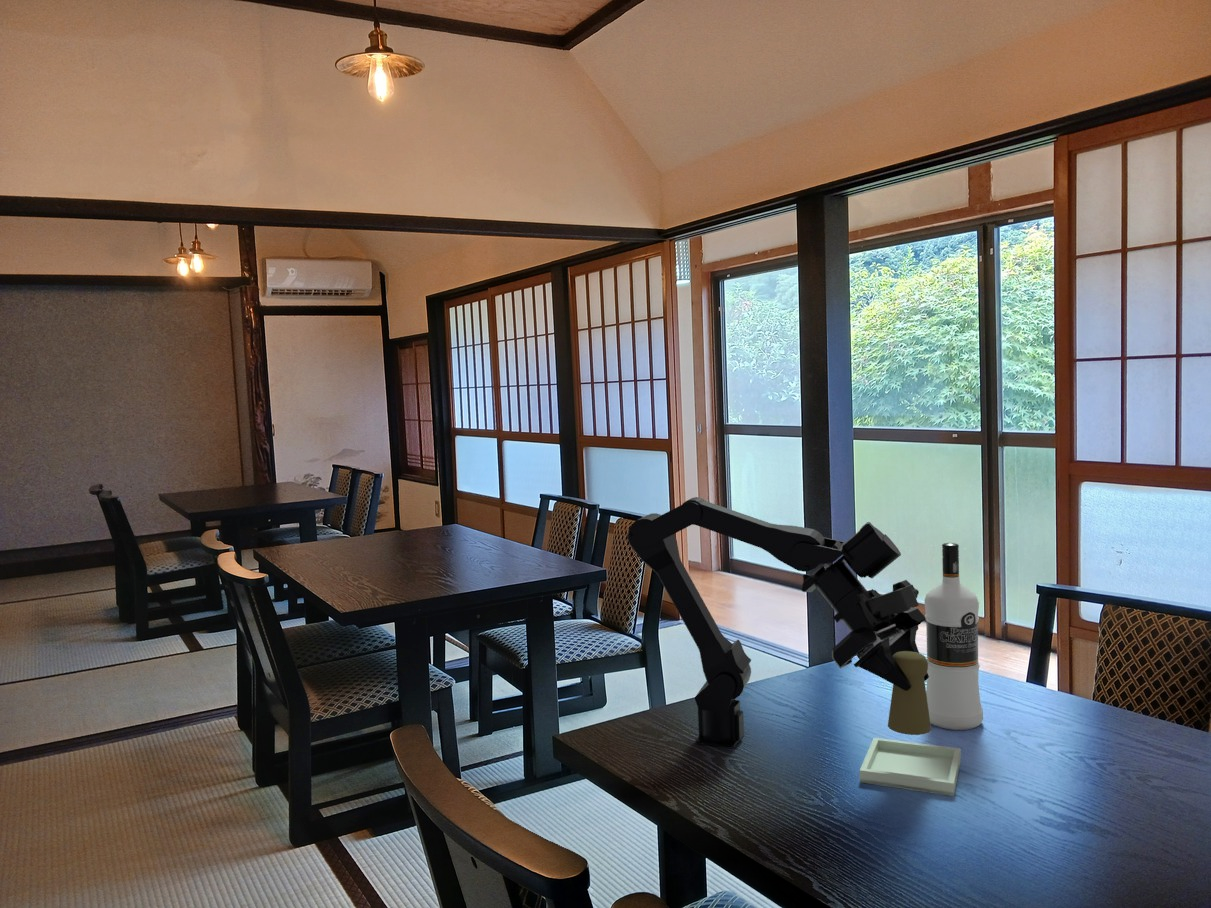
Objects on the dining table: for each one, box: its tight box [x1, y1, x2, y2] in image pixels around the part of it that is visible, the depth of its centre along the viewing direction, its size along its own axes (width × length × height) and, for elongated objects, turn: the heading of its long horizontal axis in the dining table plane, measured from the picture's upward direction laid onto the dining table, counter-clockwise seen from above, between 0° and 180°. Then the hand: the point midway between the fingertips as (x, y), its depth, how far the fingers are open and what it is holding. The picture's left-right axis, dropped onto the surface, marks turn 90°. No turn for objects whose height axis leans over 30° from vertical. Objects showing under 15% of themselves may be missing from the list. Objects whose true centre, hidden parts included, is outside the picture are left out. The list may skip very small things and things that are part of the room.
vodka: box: [924, 542, 984, 731], centre depth 148 cm, size 9×9×30 cm
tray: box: [859, 737, 962, 797], centre depth 131 cm, size 13×13×2 cm
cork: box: [887, 651, 932, 736], centre depth 130 cm, size 6×6×11 cm
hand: (918, 684), depth 129 cm, fingers closed on cork, 5 cm apart
